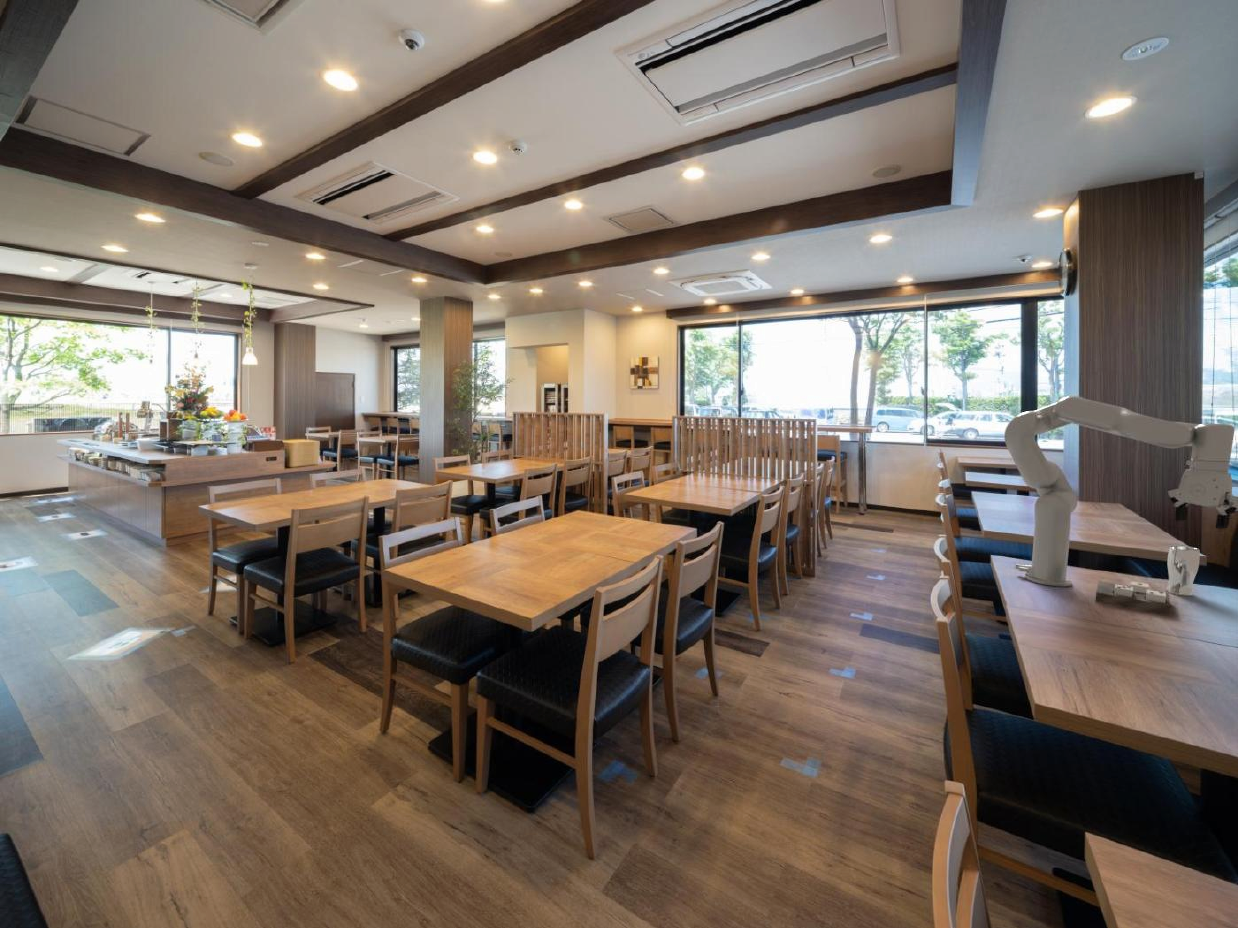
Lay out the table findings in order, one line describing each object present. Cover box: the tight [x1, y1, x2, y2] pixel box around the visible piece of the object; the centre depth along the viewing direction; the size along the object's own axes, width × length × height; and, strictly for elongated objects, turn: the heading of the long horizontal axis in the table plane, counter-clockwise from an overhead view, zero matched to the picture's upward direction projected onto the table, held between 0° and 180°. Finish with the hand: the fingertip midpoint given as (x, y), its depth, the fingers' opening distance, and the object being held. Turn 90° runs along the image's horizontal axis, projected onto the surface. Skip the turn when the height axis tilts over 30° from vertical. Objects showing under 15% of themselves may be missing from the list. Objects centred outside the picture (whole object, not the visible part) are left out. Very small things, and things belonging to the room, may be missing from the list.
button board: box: [1095, 581, 1171, 616], centre depth 163 cm, size 16×14×3 cm
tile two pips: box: [1146, 589, 1167, 603], centre depth 157 cm, size 4×4×3 cm
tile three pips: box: [1114, 583, 1133, 597], centre depth 162 cm, size 4×4×3 cm
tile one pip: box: [1130, 581, 1150, 593], centre depth 165 cm, size 4×4×3 cm
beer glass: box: [1165, 544, 1201, 597], centre depth 169 cm, size 7×7×15 cm
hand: (1200, 524), depth 154 cm, fingers open, 9 cm apart
